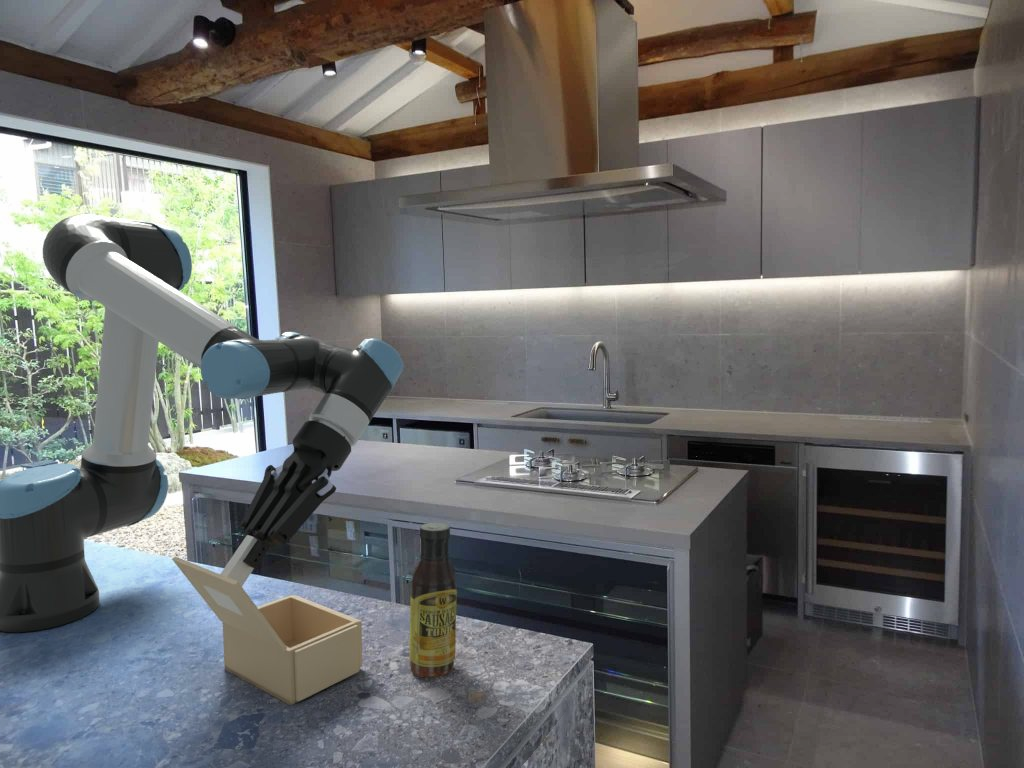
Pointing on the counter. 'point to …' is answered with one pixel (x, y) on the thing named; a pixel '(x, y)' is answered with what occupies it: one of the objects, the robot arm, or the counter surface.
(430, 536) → the sauce bottle
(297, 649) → the wooden box
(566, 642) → the counter surface
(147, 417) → the robot arm
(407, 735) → the counter surface
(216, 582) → the flap
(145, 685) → the counter surface
